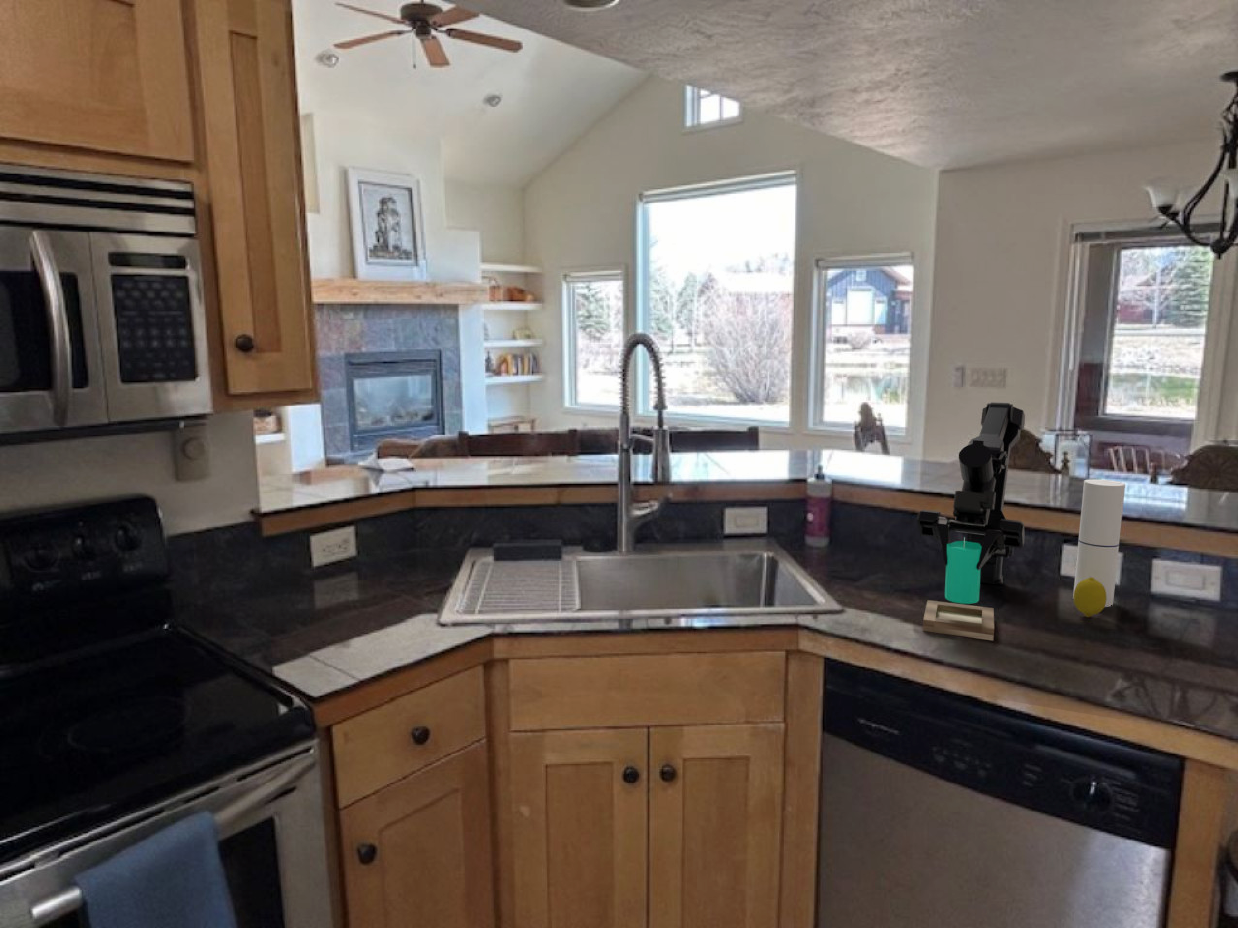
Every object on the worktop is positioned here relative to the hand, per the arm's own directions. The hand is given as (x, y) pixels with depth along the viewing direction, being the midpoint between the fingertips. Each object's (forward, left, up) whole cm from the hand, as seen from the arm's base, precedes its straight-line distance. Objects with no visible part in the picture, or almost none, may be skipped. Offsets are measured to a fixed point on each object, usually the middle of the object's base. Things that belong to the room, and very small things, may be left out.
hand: (961, 566), depth 151 cm
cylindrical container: (-27, +25, -12) cm, 39 cm away
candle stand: (-1, 0, -12) cm, 12 cm away
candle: (-1, 0, -7) cm, 7 cm away
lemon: (-16, +23, -12) cm, 31 cm away
